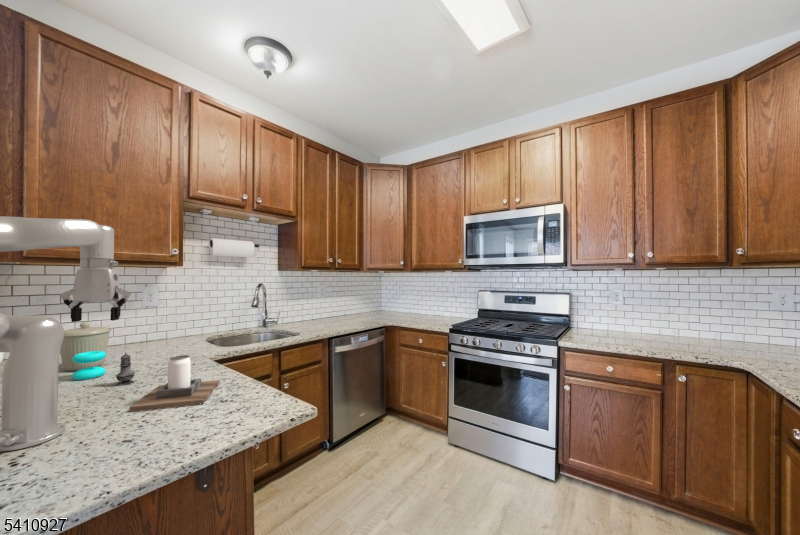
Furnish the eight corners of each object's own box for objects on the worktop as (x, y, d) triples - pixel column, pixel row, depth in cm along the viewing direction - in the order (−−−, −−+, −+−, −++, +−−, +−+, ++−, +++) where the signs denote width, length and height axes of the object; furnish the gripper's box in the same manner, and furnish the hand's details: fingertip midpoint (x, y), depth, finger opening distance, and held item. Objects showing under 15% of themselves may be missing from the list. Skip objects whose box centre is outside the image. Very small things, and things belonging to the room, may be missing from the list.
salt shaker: (123, 386, 121) (123, 354, 121) (111, 385, 122) (111, 354, 122) (138, 381, 126) (139, 351, 127) (127, 380, 128) (127, 350, 128)
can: (174, 396, 106) (174, 360, 106) (163, 393, 109) (164, 358, 109) (194, 390, 111) (194, 356, 112) (183, 387, 114) (184, 354, 115)
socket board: (203, 404, 103) (203, 391, 103) (129, 411, 98) (129, 398, 98) (219, 384, 122) (219, 373, 123) (159, 389, 117) (159, 378, 117)
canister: (71, 364, 151) (71, 320, 151) (118, 360, 157) (119, 318, 158) (44, 376, 134) (45, 325, 135) (98, 371, 140) (99, 323, 141)
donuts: (103, 353, 131) (69, 357, 126) (102, 378, 131) (68, 382, 125) (108, 349, 140) (76, 352, 134) (108, 372, 139) (76, 376, 134)
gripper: (136, 265, 104) (135, 318, 103) (71, 265, 99) (70, 320, 99) (123, 264, 97) (122, 321, 96) (52, 264, 92) (50, 323, 92)
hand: (95, 320), depth 98 cm, fingers open, 9 cm apart
